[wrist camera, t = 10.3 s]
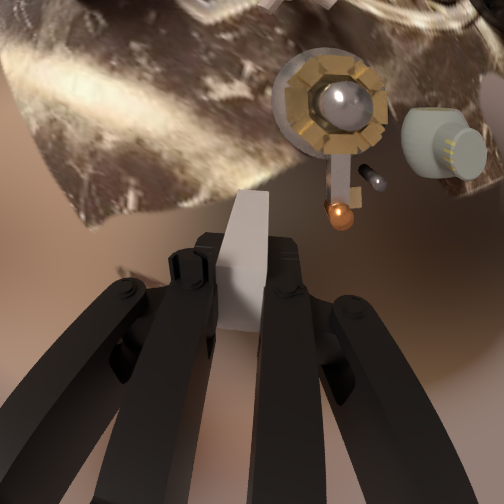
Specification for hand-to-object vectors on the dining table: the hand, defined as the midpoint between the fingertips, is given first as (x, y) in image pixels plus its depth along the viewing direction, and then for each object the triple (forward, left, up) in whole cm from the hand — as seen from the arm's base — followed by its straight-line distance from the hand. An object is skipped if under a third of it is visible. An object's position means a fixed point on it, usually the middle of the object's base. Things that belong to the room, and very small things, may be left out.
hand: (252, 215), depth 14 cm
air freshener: (-22, +1, -21) cm, 30 cm away
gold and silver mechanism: (-9, 0, -20) cm, 22 cm away
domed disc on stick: (-9, 0, -19) cm, 21 cm away
